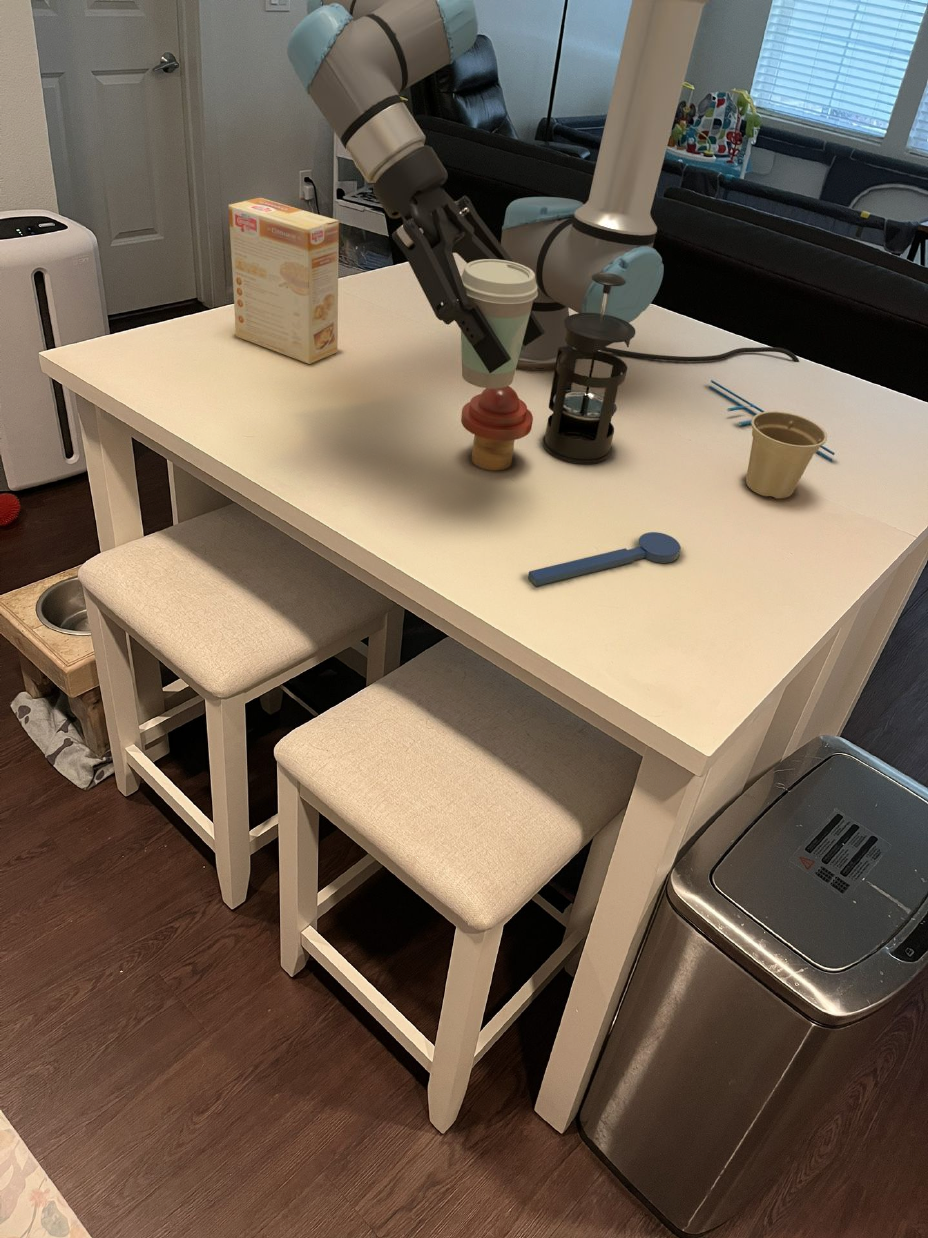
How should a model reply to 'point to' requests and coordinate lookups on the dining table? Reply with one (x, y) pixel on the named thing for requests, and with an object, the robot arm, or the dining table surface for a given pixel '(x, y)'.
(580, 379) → the french press
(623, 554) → the spoon
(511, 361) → the coffee cup
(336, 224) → the coffeecake box
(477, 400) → the mushroom
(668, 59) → the robot arm
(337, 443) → the dining table surface
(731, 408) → the chopsticks
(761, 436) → the flower pot
